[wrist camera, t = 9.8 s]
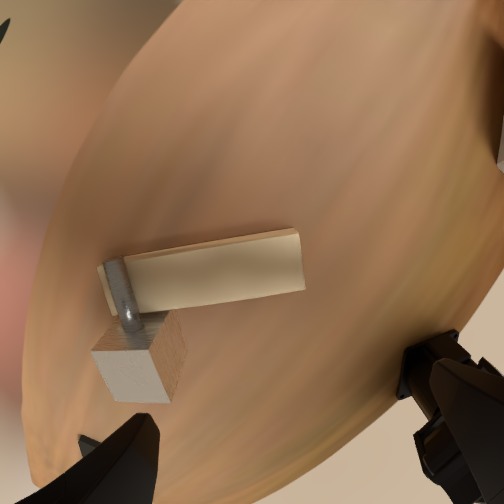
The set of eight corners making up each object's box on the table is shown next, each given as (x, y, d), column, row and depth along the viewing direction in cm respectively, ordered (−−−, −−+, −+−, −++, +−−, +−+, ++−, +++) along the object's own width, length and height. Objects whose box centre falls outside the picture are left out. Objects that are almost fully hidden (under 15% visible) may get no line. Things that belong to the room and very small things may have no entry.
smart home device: (137, 464, 23) (140, 509, 27) (140, 454, 24) (142, 502, 29) (75, 439, 22) (95, 492, 27) (80, 430, 24) (98, 485, 28)
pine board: (299, 278, 19) (305, 289, 17) (122, 304, 19) (112, 315, 17) (293, 227, 18) (298, 233, 16) (109, 259, 18) (96, 267, 16)
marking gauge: (187, 350, 20) (170, 403, 14) (141, 353, 20) (115, 401, 14) (158, 242, 18) (122, 268, 12) (109, 251, 18) (62, 278, 12)
